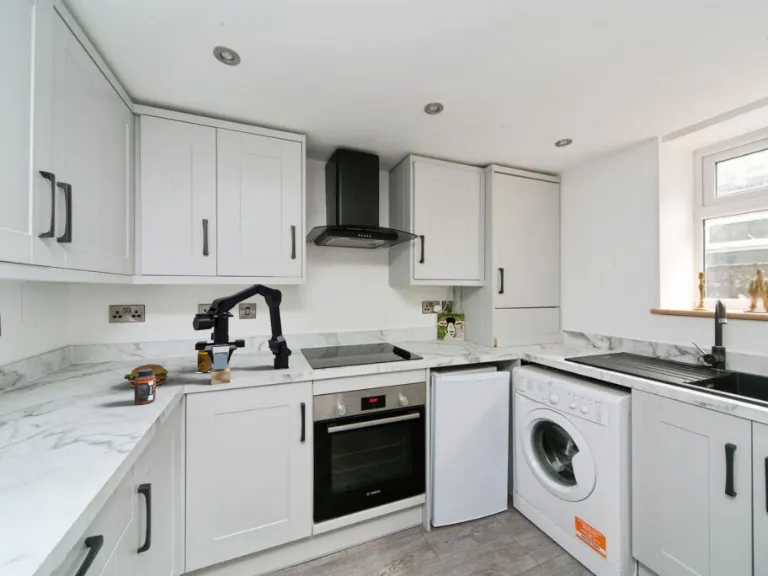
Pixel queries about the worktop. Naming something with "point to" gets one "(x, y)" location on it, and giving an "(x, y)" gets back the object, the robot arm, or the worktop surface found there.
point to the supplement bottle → (145, 387)
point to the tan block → (220, 376)
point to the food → (157, 371)
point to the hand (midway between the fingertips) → (220, 364)
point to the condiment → (204, 362)
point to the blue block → (220, 360)
